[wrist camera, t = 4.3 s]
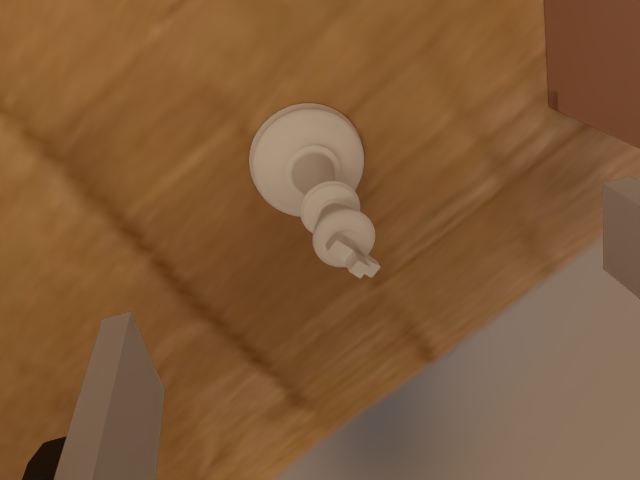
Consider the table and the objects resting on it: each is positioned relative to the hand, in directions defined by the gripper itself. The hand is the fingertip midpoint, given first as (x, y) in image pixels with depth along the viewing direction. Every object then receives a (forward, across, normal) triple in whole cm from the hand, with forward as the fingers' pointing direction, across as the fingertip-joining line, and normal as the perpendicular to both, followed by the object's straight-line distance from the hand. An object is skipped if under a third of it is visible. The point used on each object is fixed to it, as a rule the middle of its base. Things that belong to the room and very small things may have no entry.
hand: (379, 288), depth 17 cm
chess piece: (+11, 0, 0) cm, 11 cm away
